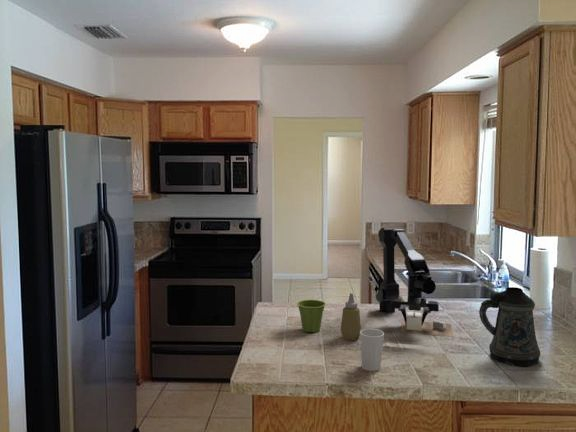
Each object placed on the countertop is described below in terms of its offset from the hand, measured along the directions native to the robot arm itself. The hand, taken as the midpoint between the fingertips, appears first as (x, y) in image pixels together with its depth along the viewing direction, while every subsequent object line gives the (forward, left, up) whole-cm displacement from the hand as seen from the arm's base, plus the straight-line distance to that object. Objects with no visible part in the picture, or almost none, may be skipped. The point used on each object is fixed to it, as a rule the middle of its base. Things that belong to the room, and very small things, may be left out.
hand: (413, 325), depth 205 cm
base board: (+5, 0, -2) cm, 5 cm away
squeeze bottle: (-24, -16, -2) cm, 29 cm away
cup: (-14, -42, -2) cm, 44 cm away
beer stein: (+33, -22, -2) cm, 40 cm away
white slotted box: (0, 0, -1) cm, 1 cm away
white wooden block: (+10, 0, -1) cm, 10 cm away
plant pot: (-41, -10, -2) cm, 42 cm away
